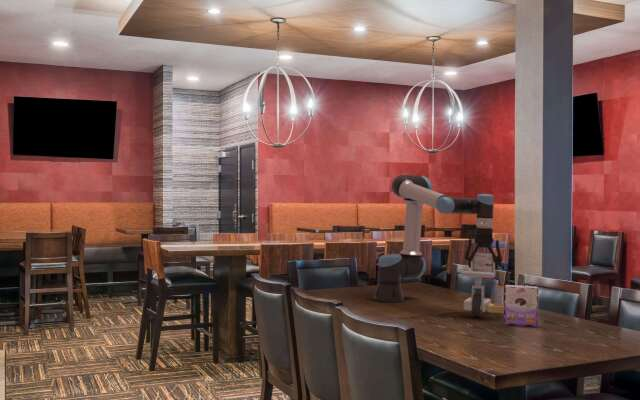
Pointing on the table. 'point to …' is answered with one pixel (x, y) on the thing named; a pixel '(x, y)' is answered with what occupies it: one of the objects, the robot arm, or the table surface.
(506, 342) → the table surface
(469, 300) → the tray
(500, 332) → the table surface
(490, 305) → the pin socket
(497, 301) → the stop pin
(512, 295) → the candy box
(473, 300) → the white pedestal stand
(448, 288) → the table surface
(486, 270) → the ink box
